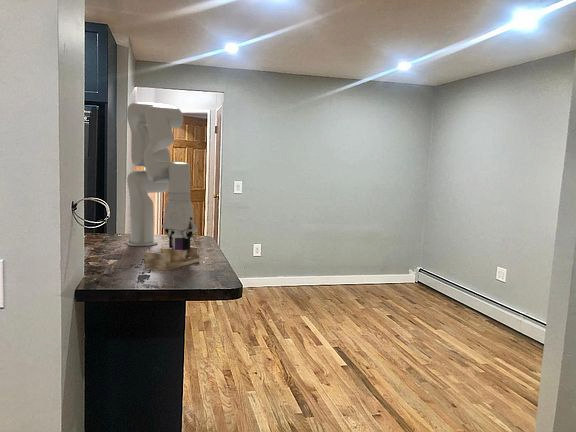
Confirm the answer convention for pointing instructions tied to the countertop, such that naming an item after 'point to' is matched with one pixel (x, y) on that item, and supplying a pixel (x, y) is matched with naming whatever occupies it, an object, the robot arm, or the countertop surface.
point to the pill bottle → (178, 240)
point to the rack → (171, 258)
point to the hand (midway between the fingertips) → (179, 247)
